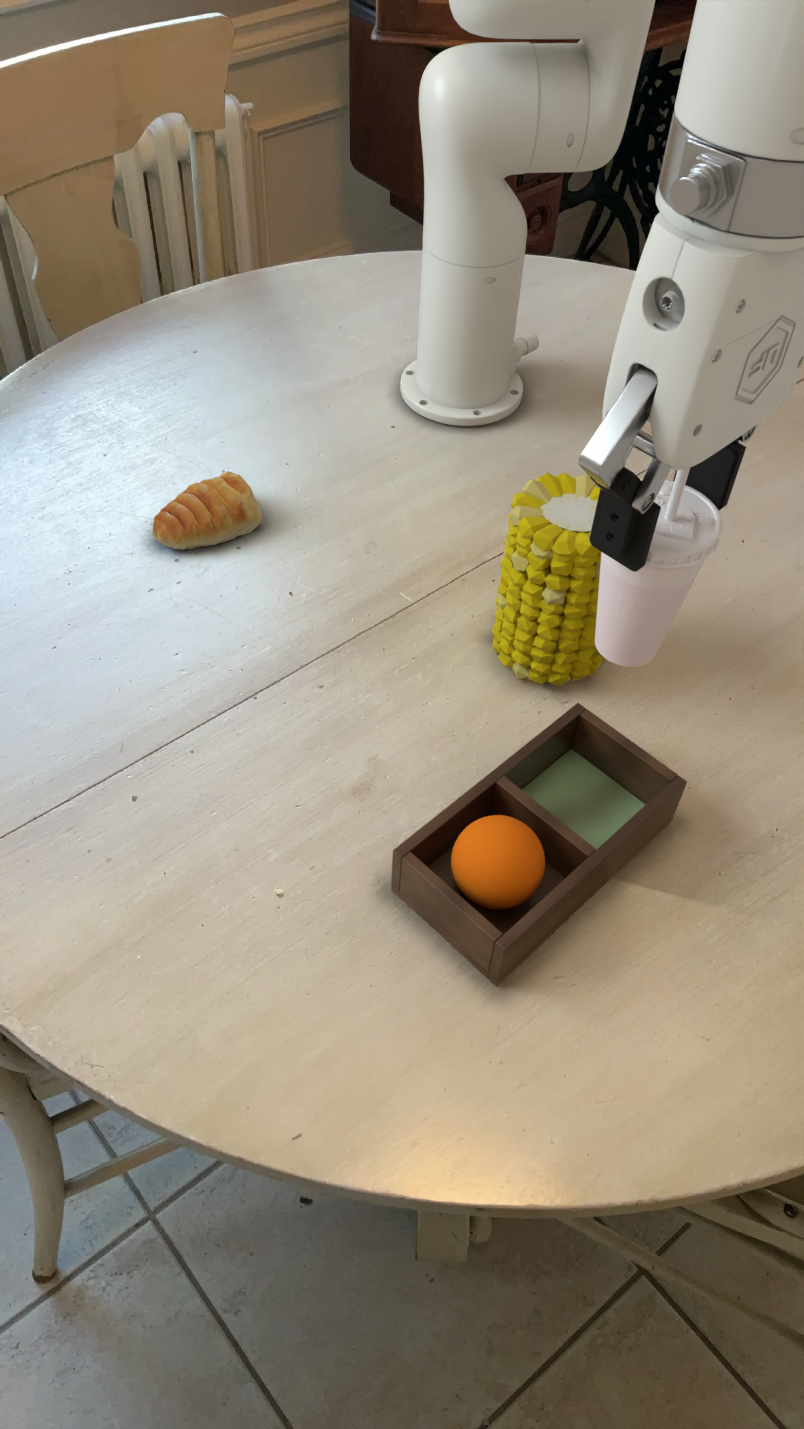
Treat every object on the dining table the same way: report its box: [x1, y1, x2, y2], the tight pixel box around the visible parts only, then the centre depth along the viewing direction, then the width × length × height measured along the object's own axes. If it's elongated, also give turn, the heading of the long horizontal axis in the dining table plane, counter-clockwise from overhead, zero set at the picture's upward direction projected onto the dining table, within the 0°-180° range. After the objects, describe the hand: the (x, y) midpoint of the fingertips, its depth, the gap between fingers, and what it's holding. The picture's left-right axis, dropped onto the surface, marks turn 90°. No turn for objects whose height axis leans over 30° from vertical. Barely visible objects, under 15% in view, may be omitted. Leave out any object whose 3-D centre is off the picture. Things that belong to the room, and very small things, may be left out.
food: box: [491, 472, 607, 687], centre depth 80 cm, size 15×12×10 cm
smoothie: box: [595, 468, 724, 668], centre depth 57 cm, size 6×6×14 cm
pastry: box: [152, 470, 264, 551], centre depth 92 cm, size 9×7×4 cm
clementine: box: [451, 815, 545, 910], centre depth 67 cm, size 6×6×6 cm
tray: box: [390, 702, 688, 987], centre depth 70 cm, size 10×18×5 cm, turn 134°
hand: (658, 523), depth 55 cm, fingers closed on smoothie, 6 cm apart
